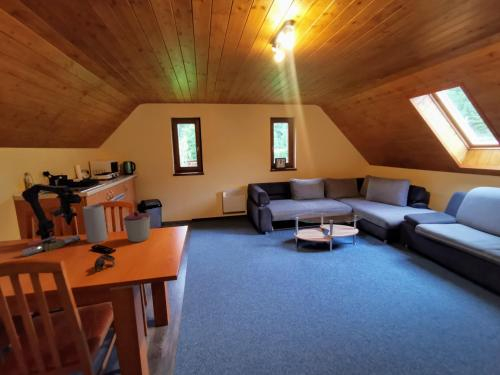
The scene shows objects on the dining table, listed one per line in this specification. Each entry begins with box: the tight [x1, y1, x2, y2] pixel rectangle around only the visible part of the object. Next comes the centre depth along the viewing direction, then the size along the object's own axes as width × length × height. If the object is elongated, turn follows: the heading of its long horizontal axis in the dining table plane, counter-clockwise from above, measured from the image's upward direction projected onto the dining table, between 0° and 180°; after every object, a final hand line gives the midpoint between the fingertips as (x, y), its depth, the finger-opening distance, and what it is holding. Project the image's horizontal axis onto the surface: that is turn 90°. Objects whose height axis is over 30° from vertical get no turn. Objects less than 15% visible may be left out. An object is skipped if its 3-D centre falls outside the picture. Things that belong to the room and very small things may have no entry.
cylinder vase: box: [82, 204, 108, 244], centre depth 180 cm, size 12×12×25 cm
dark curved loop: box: [93, 253, 116, 272], centre depth 137 cm, size 12×10×8 cm
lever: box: [27, 235, 56, 247], centre depth 164 cm, size 14×4×1 cm, turn 151°
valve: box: [21, 234, 81, 258], centre depth 170 cm, size 7×31×6 cm, turn 145°
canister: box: [122, 210, 151, 243], centre depth 178 cm, size 18×18×21 cm
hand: (68, 225), depth 181 cm, fingers closed
